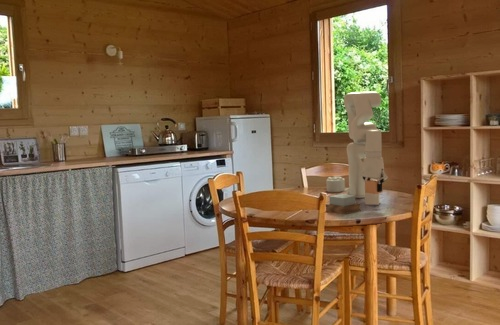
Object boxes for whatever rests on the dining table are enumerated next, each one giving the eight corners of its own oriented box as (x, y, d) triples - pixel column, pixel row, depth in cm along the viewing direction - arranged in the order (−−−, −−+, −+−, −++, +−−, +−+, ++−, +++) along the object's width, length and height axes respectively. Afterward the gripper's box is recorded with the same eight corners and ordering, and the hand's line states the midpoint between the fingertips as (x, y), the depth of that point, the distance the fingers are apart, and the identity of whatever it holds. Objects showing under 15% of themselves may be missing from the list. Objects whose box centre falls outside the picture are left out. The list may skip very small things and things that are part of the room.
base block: (326, 212, 241) (325, 204, 241) (341, 208, 249) (341, 200, 249) (344, 215, 232) (344, 207, 232) (360, 211, 240) (360, 203, 239)
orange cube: (365, 192, 239) (365, 180, 239) (372, 190, 243) (372, 179, 242) (375, 194, 235) (375, 182, 234) (382, 192, 238) (382, 180, 238)
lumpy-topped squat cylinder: (346, 189, 306) (346, 176, 305) (339, 192, 295) (339, 178, 294) (331, 188, 312) (330, 175, 311) (323, 191, 300) (323, 178, 300)
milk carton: (379, 202, 258) (379, 167, 256) (378, 205, 251) (378, 169, 249) (366, 202, 260) (365, 167, 258) (364, 204, 254) (364, 169, 252)
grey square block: (329, 204, 241) (329, 196, 240) (341, 201, 246) (340, 193, 246) (343, 206, 234) (343, 198, 233) (355, 203, 239) (355, 195, 239)
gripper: (354, 154, 241) (355, 189, 243) (383, 156, 228) (384, 194, 230) (364, 153, 246) (364, 187, 248) (393, 155, 232) (393, 191, 234)
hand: (373, 190), depth 239 cm, fingers closed on orange cube, 6 cm apart
